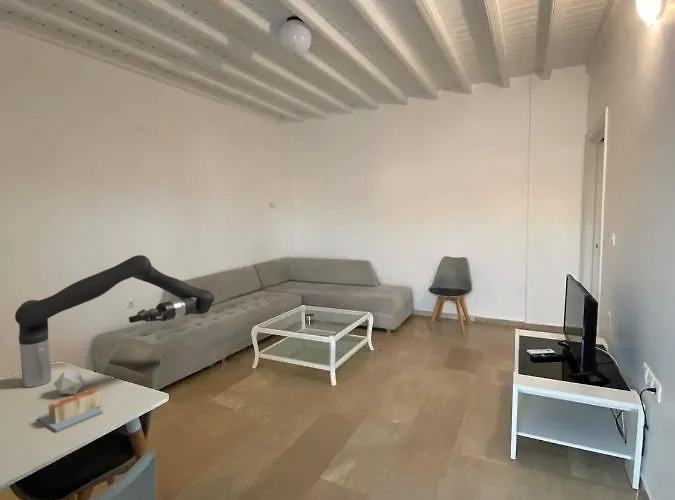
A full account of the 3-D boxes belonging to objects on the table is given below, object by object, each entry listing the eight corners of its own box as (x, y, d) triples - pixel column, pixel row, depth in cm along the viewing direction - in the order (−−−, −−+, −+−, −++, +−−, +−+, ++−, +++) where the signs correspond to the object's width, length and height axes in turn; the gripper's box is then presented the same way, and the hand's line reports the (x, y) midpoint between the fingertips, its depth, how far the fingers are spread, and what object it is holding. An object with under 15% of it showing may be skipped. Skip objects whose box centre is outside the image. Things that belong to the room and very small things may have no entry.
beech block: (94, 401, 143) (49, 418, 131) (93, 388, 142) (48, 404, 130) (101, 405, 140) (56, 423, 128) (100, 391, 139) (55, 408, 128)
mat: (37, 419, 132) (37, 417, 132) (83, 402, 144) (82, 400, 144) (56, 432, 125) (56, 430, 124) (103, 413, 136) (102, 410, 136)
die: (62, 402, 145) (80, 378, 147) (43, 389, 146) (62, 365, 148) (76, 400, 153) (94, 376, 155) (59, 387, 154) (76, 364, 157)
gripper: (161, 299, 167) (119, 307, 153) (180, 303, 160) (139, 312, 146) (161, 316, 168) (121, 326, 153) (181, 321, 161) (140, 332, 146)
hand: (130, 320), depth 150 cm, fingers closed
